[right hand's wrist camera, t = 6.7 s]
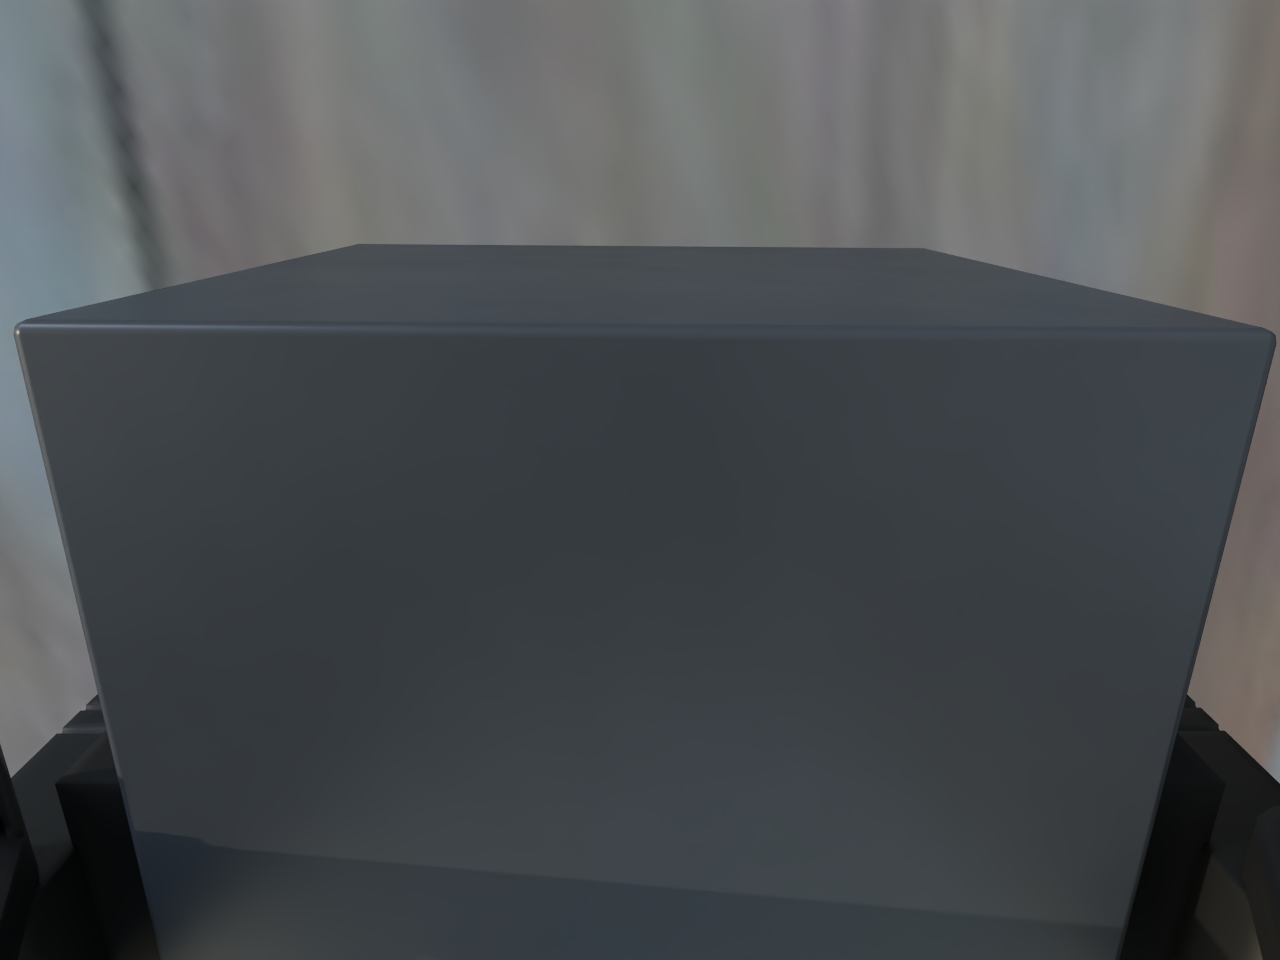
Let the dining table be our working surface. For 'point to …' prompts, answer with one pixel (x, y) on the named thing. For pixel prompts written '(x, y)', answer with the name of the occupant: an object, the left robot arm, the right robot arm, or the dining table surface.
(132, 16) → the dining table surface
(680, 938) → the wide beam
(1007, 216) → the dining table surface
